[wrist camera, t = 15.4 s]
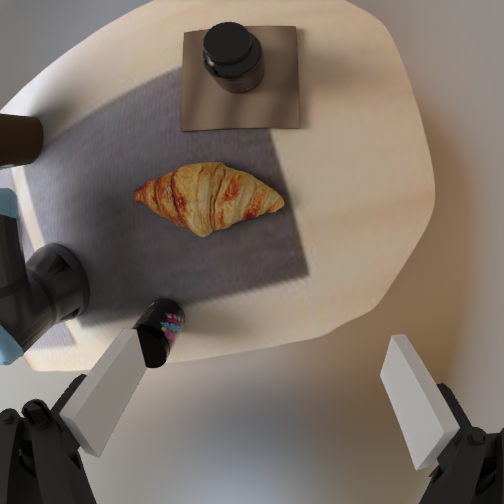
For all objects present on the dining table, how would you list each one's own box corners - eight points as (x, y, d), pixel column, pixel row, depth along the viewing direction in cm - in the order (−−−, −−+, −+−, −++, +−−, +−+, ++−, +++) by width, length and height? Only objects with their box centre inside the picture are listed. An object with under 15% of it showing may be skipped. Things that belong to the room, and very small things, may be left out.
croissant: (283, 178, 42) (288, 152, 34) (281, 244, 40) (286, 230, 32) (148, 176, 43) (129, 152, 35) (138, 237, 41) (114, 223, 33)
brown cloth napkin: (183, 132, 37) (181, 131, 36) (186, 35, 32) (184, 32, 31) (298, 128, 36) (299, 127, 35) (295, 29, 31) (295, 26, 30)
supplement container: (174, 337, 48) (154, 375, 38) (143, 315, 47) (117, 348, 37) (193, 313, 46) (175, 351, 36) (160, 289, 45) (134, 321, 35)
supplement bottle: (207, 63, 33) (183, 29, 21) (253, 45, 32) (246, 4, 20) (225, 103, 35) (206, 79, 23) (273, 84, 33) (273, 53, 22)
